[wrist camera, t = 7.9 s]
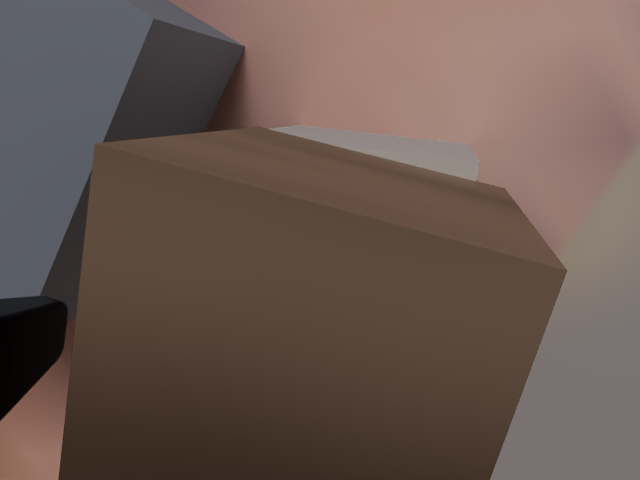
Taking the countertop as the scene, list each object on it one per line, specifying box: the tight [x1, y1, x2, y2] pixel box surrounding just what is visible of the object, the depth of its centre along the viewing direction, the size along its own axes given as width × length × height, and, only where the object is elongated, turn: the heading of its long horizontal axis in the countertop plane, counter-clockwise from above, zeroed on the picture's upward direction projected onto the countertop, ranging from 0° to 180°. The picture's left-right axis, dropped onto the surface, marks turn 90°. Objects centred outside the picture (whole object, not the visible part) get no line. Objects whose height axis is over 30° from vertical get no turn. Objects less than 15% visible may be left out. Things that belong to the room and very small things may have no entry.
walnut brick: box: [59, 127, 567, 480], centre depth 8 cm, size 8×4×5 cm, turn 167°
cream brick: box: [270, 125, 480, 181], centre depth 13 cm, size 8×4×5 cm, turn 174°
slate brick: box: [0, 0, 245, 322], centre depth 14 cm, size 8×4×5 cm, turn 150°
